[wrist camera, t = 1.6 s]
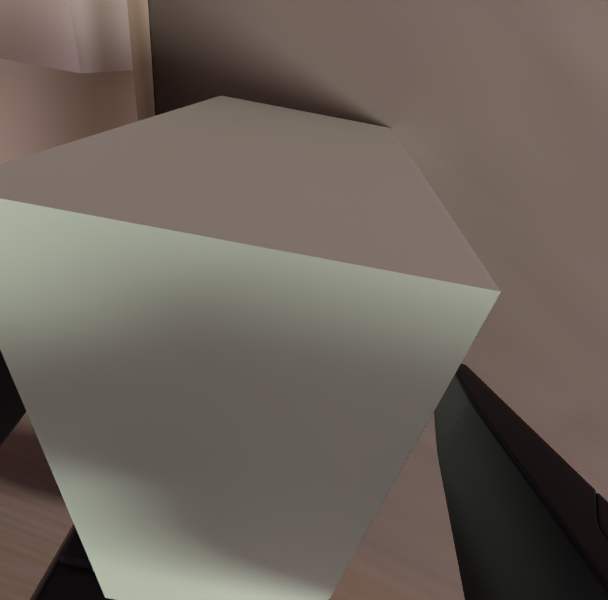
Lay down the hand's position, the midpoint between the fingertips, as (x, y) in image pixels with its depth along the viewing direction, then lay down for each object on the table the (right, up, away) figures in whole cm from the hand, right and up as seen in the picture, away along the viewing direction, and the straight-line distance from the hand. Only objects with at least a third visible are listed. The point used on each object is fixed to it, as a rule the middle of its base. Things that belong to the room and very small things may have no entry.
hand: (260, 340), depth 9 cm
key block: (0, +2, +3) cm, 4 cm away
